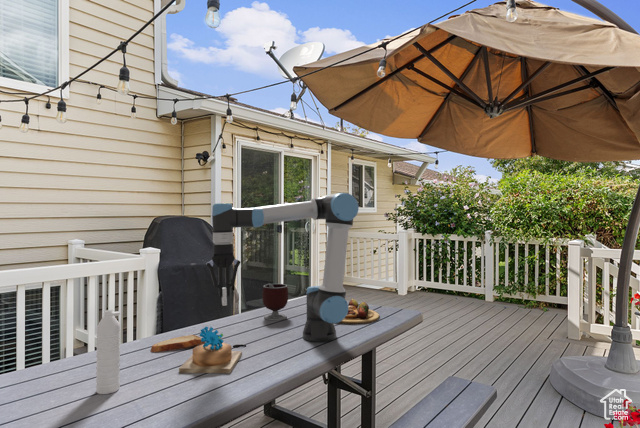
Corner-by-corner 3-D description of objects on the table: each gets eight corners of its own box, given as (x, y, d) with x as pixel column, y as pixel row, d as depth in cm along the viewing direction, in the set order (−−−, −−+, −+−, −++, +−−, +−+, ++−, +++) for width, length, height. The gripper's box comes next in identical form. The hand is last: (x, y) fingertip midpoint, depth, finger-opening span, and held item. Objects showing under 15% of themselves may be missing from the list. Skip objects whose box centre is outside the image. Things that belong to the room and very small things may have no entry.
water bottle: (92, 391, 124) (92, 311, 124) (113, 384, 129) (113, 307, 129) (106, 398, 119) (106, 314, 119) (127, 390, 124) (128, 310, 124)
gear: (209, 349, 141) (197, 326, 145) (199, 360, 142) (187, 336, 147) (230, 345, 150) (218, 323, 155) (221, 355, 152) (209, 333, 156)
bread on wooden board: (241, 355, 156) (241, 341, 156) (230, 373, 138) (230, 357, 138) (196, 354, 157) (196, 340, 157) (179, 372, 139) (179, 356, 139)
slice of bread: (146, 352, 160) (146, 343, 160) (173, 339, 178) (173, 330, 178) (185, 356, 156) (185, 346, 156) (209, 342, 174) (209, 333, 174)
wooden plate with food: (311, 321, 207) (311, 305, 207) (331, 307, 237) (332, 294, 237) (370, 329, 195) (371, 312, 195) (385, 313, 225) (385, 299, 225)
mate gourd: (269, 313, 224) (269, 277, 224) (292, 315, 219) (292, 279, 219) (256, 320, 209) (256, 282, 209) (280, 322, 204) (280, 283, 205)
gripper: (206, 244, 147) (207, 308, 147) (241, 243, 151) (243, 305, 151) (204, 243, 154) (205, 304, 154) (238, 242, 158) (239, 301, 158)
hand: (224, 304), depth 152 cm, fingers closed
